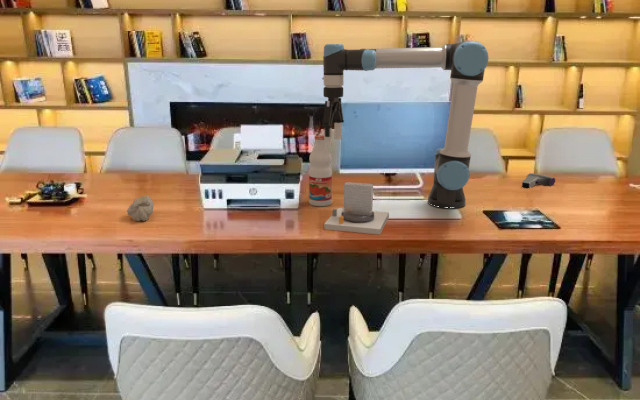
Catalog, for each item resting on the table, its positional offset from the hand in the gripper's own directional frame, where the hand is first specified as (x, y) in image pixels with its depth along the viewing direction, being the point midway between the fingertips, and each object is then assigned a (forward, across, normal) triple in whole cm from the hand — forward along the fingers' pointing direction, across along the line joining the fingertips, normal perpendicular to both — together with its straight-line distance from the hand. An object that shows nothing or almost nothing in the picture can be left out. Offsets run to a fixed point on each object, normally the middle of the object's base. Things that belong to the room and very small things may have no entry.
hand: (333, 142), depth 209 cm
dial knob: (+24, +15, +14) cm, 32 cm away
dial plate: (+27, +15, +14) cm, 34 cm away
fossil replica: (+26, +36, -64) cm, 78 cm away
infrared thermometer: (+28, -63, +81) cm, 106 cm away
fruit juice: (+27, -4, -6) cm, 28 cm away
